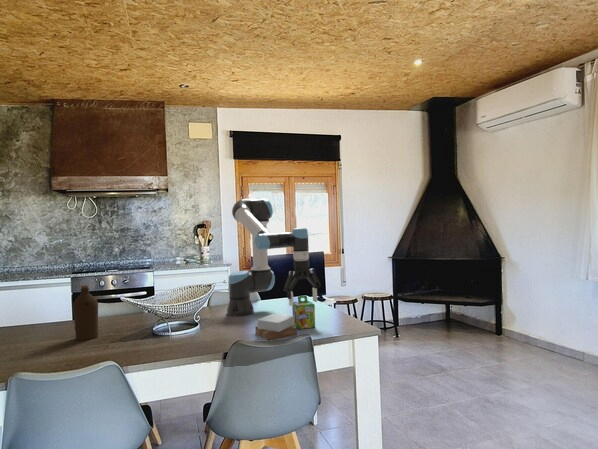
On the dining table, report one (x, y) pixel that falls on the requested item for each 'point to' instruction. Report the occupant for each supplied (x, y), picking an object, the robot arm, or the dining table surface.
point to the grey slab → (275, 322)
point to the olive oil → (85, 315)
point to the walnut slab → (276, 333)
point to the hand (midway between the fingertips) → (303, 303)
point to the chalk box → (303, 313)
